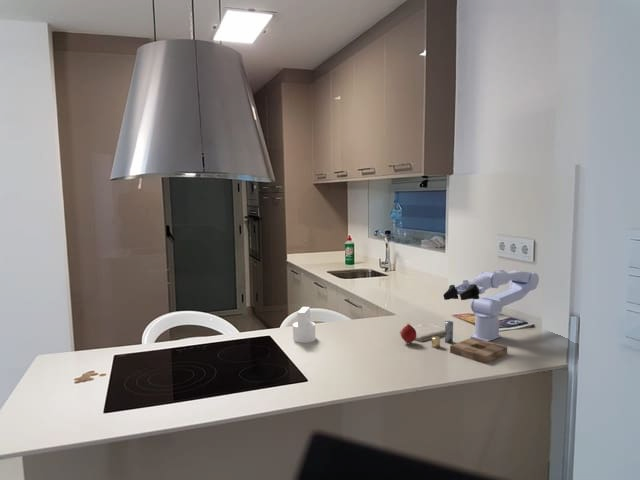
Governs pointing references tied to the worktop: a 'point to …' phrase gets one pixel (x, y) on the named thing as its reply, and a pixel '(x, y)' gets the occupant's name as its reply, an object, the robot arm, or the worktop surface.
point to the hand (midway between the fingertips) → (452, 297)
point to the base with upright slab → (304, 327)
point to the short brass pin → (436, 342)
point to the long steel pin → (448, 332)
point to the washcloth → (427, 331)
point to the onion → (408, 334)
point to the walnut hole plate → (478, 350)
